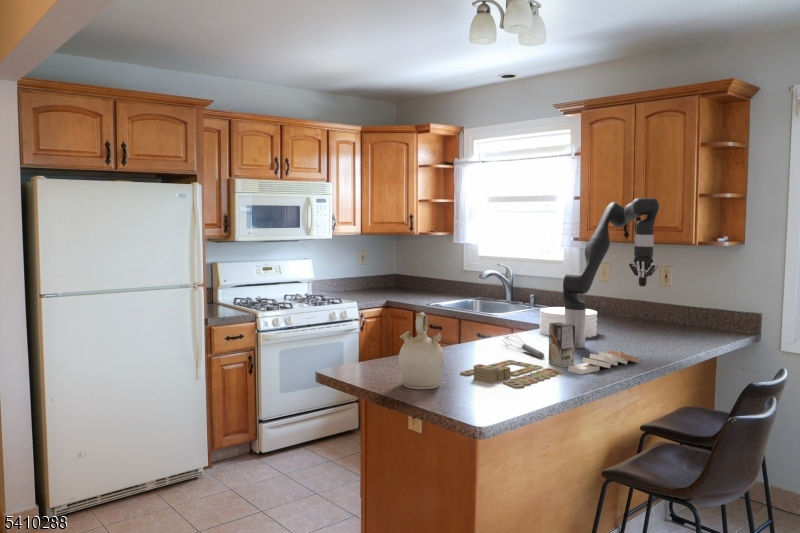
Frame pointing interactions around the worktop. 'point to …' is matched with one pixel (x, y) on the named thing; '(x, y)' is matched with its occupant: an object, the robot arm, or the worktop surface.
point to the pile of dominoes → (510, 373)
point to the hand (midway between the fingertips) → (642, 286)
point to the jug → (421, 358)
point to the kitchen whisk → (527, 348)
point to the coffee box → (561, 344)
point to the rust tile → (624, 356)
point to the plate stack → (558, 316)
